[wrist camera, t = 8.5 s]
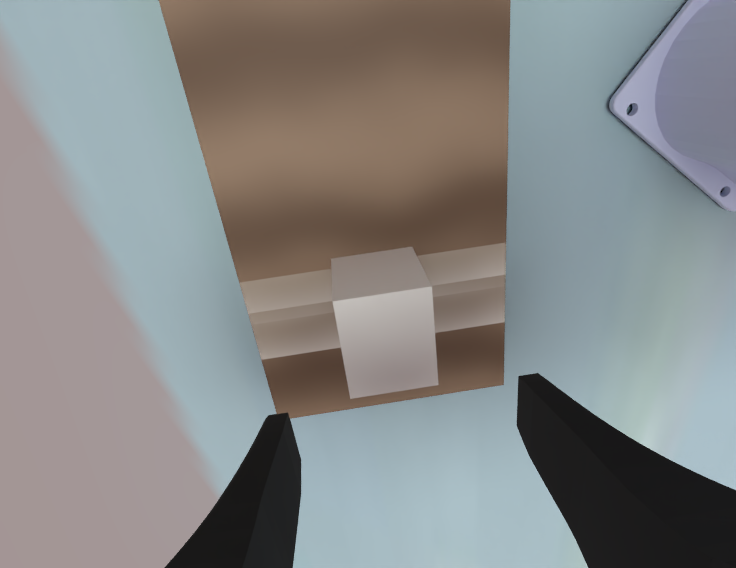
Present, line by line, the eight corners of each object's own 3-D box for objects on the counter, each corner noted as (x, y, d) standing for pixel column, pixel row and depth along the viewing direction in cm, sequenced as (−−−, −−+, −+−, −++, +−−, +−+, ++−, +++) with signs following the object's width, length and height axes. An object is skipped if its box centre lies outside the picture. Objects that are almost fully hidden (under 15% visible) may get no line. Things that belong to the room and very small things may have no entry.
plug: (411, 312, 23) (438, 385, 18) (344, 322, 23) (350, 399, 18) (404, 231, 21) (431, 286, 16) (330, 242, 21) (332, 301, 16)
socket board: (487, 357, 25) (503, 384, 23) (282, 389, 25) (278, 420, 23) (486, -221, 15) (515, -274, 12) (130, -177, 14) (94, -223, 12)
